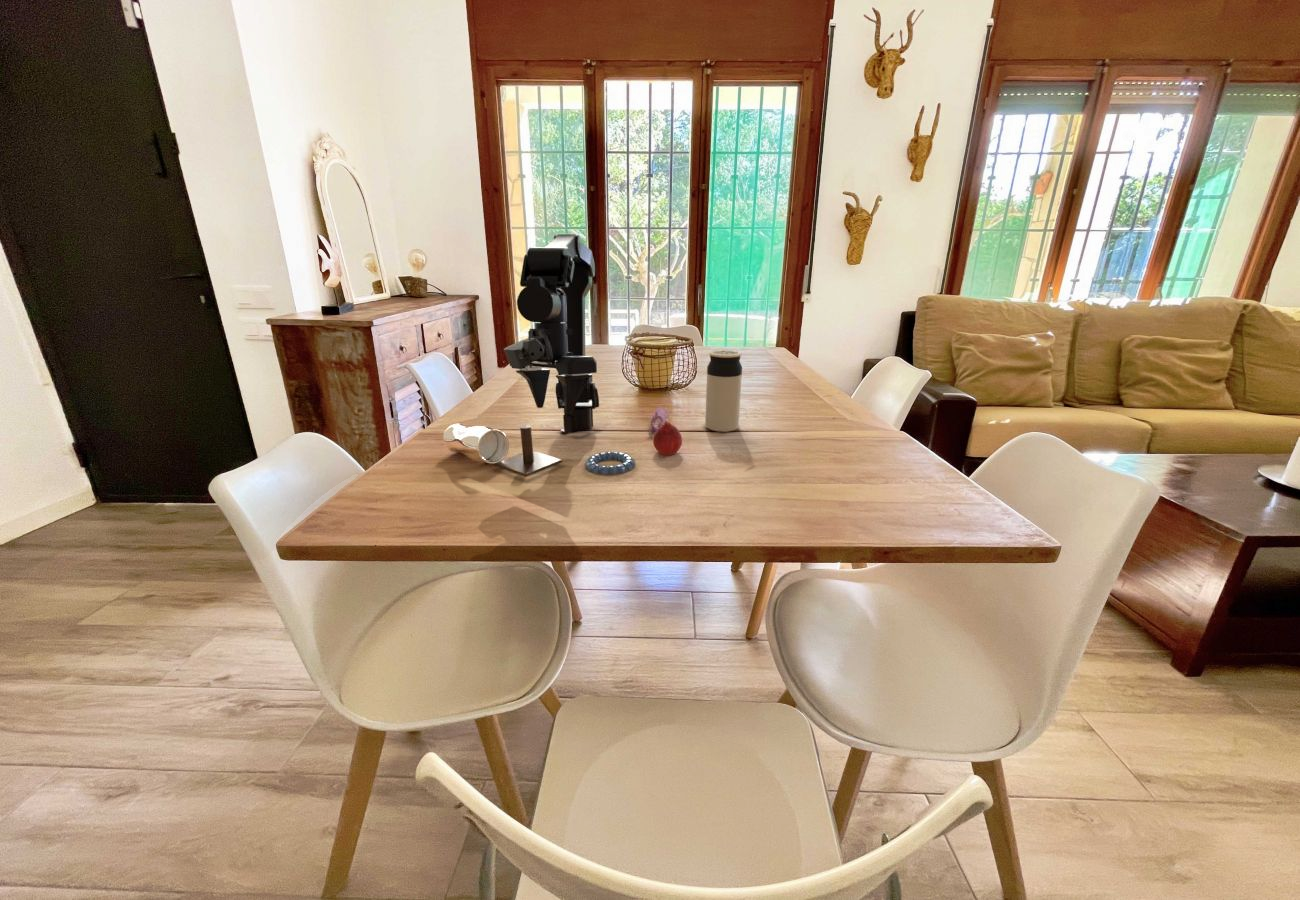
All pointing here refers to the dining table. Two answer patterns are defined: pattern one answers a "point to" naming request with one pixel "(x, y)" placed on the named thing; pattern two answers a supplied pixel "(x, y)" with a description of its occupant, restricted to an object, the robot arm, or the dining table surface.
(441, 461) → the dining table surface
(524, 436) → the stand
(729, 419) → the travel mug
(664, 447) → the onion
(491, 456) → the beer glass
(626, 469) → the blue ribbed ring toss
